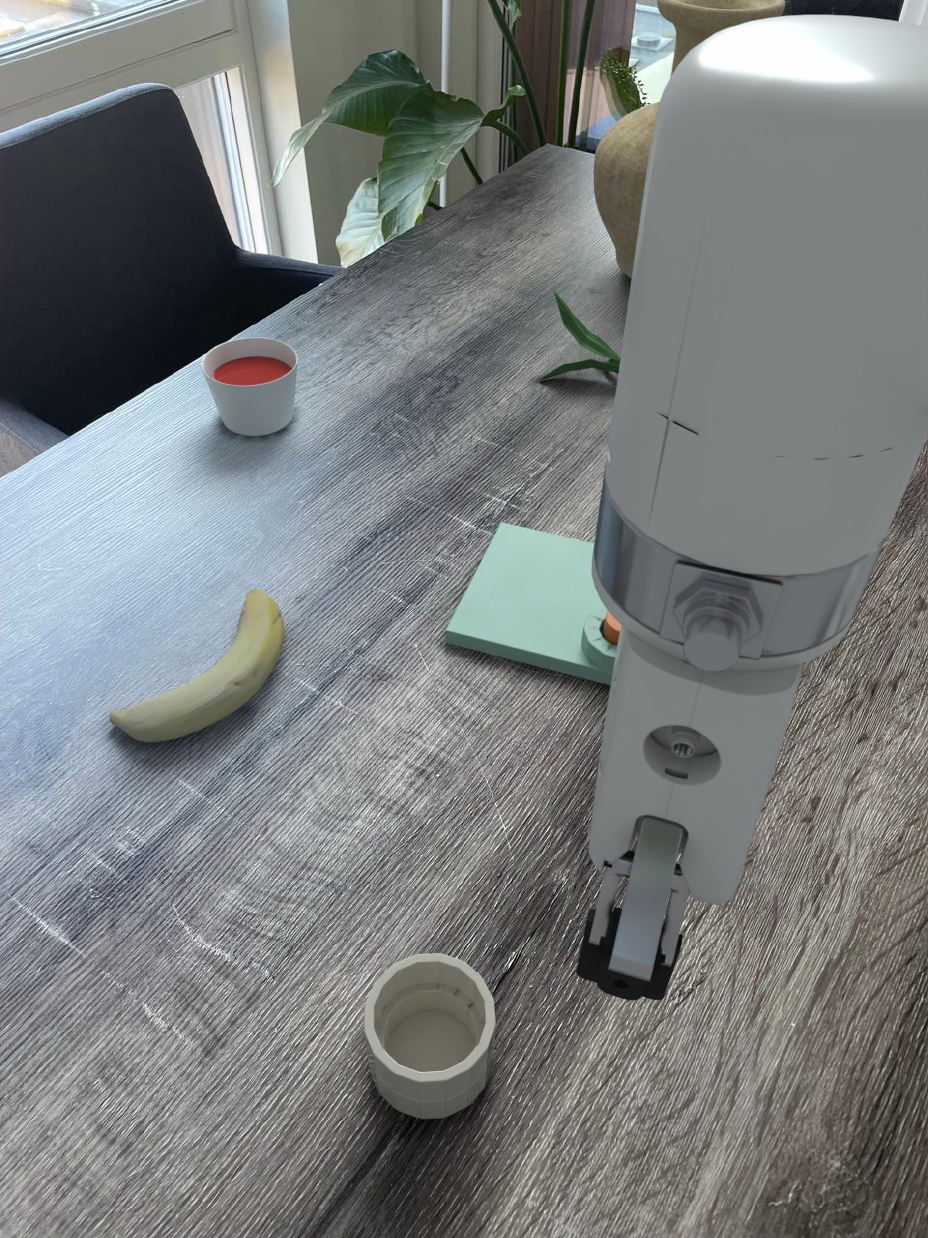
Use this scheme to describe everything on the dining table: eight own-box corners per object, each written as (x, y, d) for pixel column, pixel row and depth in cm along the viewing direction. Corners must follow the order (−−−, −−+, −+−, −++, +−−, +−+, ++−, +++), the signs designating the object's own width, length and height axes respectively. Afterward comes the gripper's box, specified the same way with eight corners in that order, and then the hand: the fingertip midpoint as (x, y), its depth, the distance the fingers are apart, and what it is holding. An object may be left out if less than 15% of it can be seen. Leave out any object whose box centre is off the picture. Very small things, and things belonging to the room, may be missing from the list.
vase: (785, 321, 115) (862, 26, 94) (590, 317, 115) (623, 21, 94) (747, 238, 131) (805, -30, 110) (576, 235, 131) (601, -34, 110)
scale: (683, 576, 83) (690, 548, 81) (650, 696, 73) (656, 668, 71) (500, 534, 86) (501, 506, 84) (445, 643, 77) (445, 615, 75)
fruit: (325, 644, 77) (322, 613, 74) (179, 773, 68) (170, 742, 65) (256, 607, 80) (251, 575, 77) (108, 725, 71) (97, 694, 68)
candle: (225, 452, 95) (214, 394, 90) (202, 404, 100) (191, 347, 96) (315, 431, 97) (310, 374, 93) (288, 386, 103) (281, 330, 99)
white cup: (506, 1022, 56) (511, 976, 52) (468, 1142, 51) (470, 1101, 47) (396, 984, 57) (393, 937, 53) (350, 1097, 53) (342, 1055, 49)
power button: (647, 625, 75) (650, 610, 74) (639, 652, 73) (642, 637, 72) (608, 615, 76) (610, 600, 74) (599, 642, 73) (601, 627, 72)
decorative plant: (826, 438, 94) (539, 312, 98) (791, 494, 101) (524, 375, 105) (842, 398, 97) (563, 278, 101) (806, 456, 104) (547, 341, 108)
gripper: (862, 823, 21) (709, 1120, 33) (876, 403, 33) (760, 733, 45) (519, 735, 23) (491, 1050, 35) (651, 364, 34) (596, 693, 46)
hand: (643, 870), depth 40 cm, fingers open, 9 cm apart
